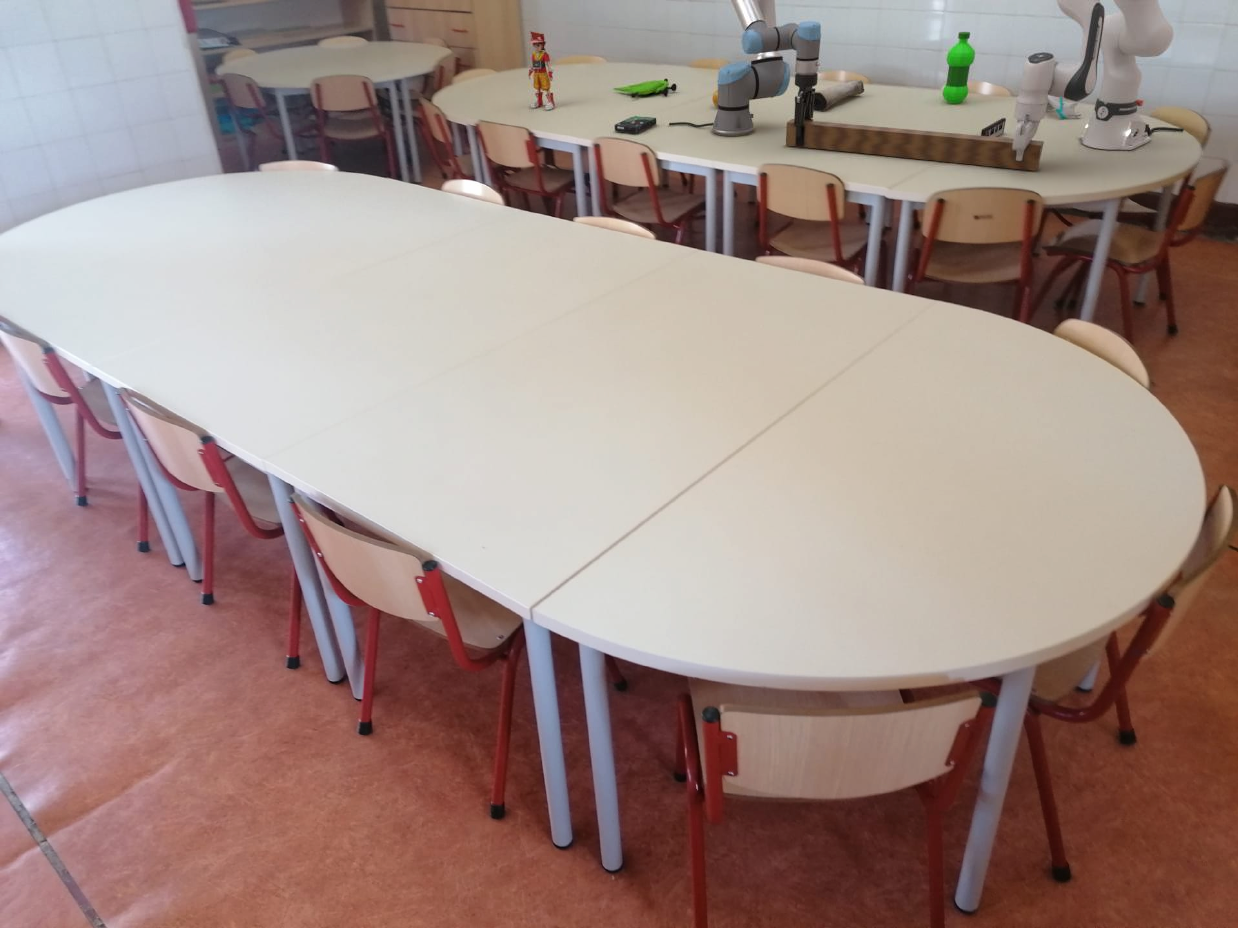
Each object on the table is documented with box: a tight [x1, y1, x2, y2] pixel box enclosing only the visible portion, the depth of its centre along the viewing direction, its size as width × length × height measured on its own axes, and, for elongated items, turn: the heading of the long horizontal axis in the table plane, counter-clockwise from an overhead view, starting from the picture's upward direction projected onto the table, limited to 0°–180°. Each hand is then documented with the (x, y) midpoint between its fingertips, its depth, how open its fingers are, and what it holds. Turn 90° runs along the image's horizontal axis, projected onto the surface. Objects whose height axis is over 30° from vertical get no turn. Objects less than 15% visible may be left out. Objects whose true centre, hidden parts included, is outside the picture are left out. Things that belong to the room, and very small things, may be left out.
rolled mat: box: [814, 79, 865, 112], centre depth 362 cm, size 30×9×10 cm
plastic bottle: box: [942, 31, 976, 104], centre depth 348 cm, size 10×10×25 cm
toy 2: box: [612, 78, 677, 99], centre depth 396 cm, size 28×5×30 cm
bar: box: [785, 118, 1045, 172], centre depth 298 cm, size 83×5×8 cm, turn 59°
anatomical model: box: [1046, 95, 1082, 119], centre depth 330 cm, size 15×10×10 cm
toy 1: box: [527, 31, 556, 111], centre depth 374 cm, size 12×9×30 cm
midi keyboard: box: [980, 117, 1007, 137], centre depth 310 cm, size 18×1×5 cm, turn 138°
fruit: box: [712, 89, 718, 108], centre depth 365 cm, size 8×8×8 cm
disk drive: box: [614, 115, 657, 135], centre depth 346 cm, size 10×3×15 cm
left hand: (802, 143), depth 316 cm, fingers closed on bar, 5 cm apart
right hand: (1021, 157), depth 282 cm, fingers closed on bar, 5 cm apart
